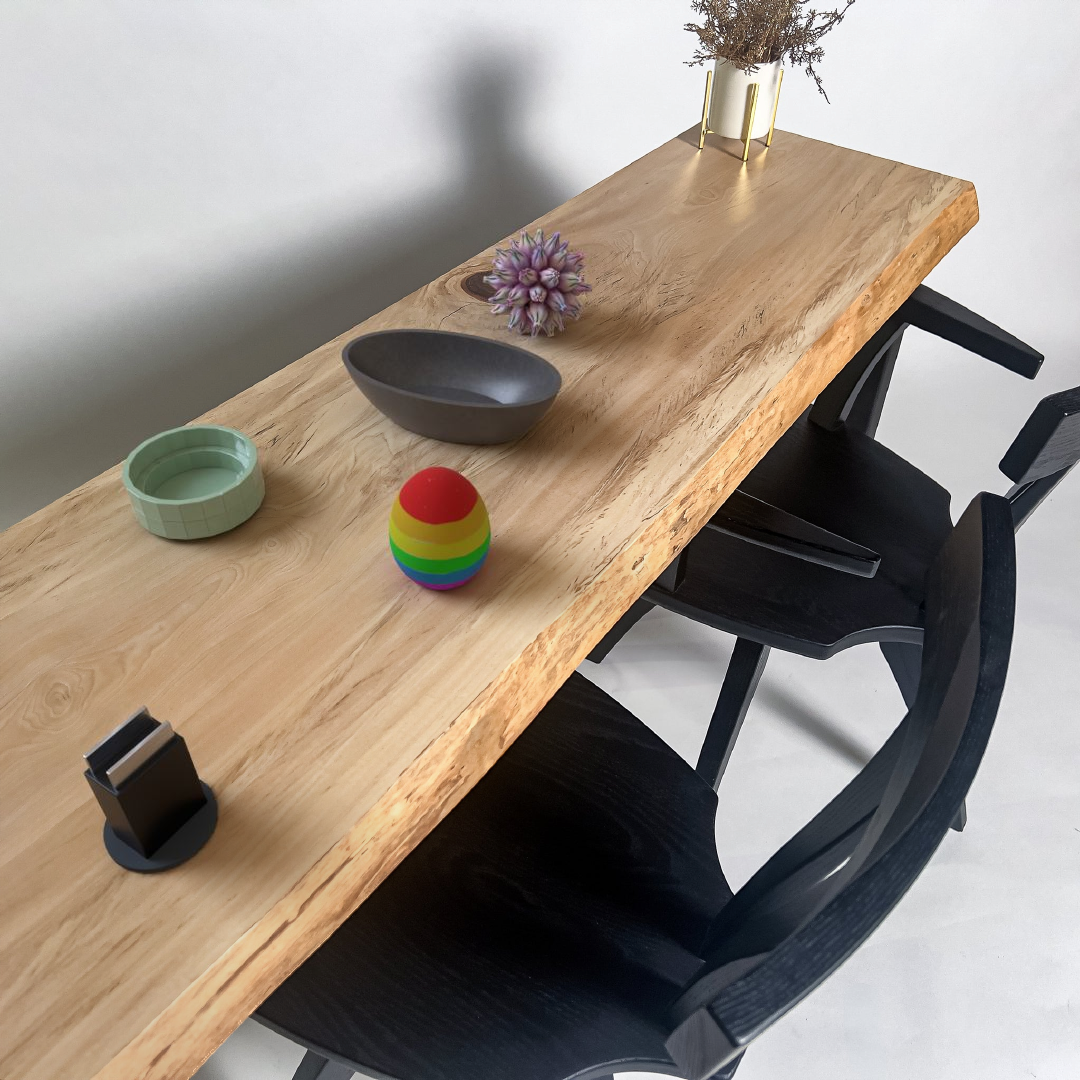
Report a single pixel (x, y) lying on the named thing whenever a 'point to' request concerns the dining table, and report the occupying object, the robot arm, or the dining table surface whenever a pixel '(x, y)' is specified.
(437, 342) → the bowl
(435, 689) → the dining table surface
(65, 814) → the dining table surface
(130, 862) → the coaster
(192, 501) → the green bowl
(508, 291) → the flower
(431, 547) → the decorative egg
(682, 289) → the dining table surface
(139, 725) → the clip
